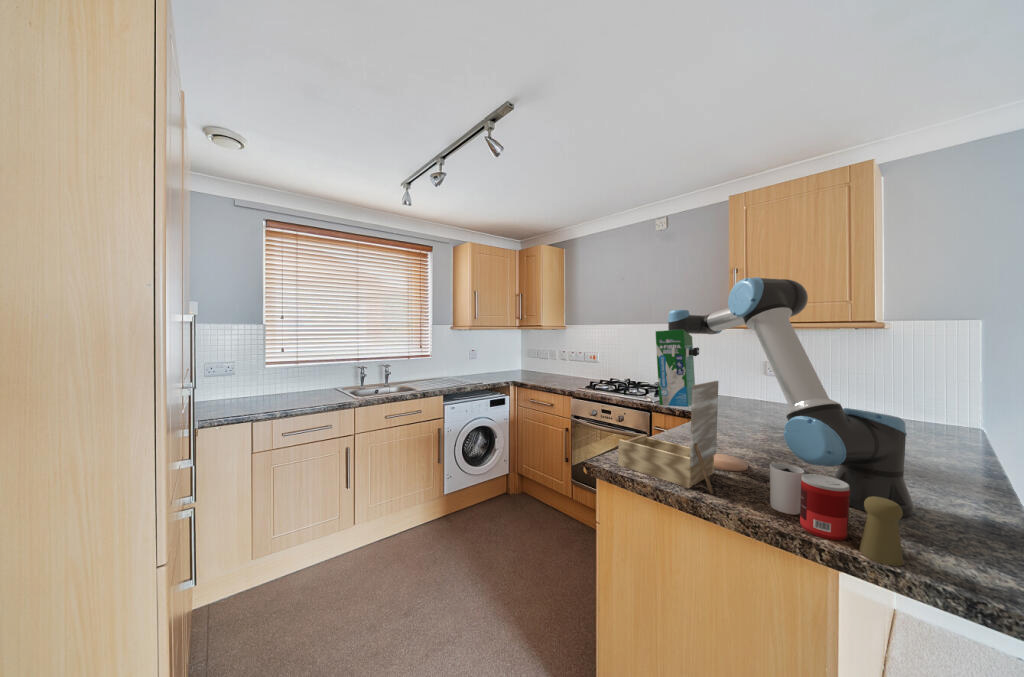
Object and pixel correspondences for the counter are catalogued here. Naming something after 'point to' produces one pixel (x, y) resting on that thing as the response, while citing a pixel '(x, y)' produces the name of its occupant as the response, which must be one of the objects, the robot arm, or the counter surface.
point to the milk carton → (674, 368)
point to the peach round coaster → (729, 463)
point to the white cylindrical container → (785, 487)
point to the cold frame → (676, 459)
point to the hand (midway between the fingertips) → (680, 352)
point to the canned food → (824, 506)
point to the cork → (882, 531)
